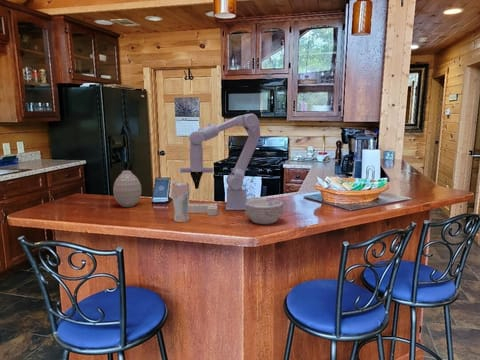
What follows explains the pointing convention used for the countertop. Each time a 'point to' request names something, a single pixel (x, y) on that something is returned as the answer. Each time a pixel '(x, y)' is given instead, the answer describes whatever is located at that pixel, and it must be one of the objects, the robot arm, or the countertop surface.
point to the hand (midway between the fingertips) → (196, 188)
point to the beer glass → (180, 201)
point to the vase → (127, 189)
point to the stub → (212, 210)
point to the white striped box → (199, 207)
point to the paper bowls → (264, 210)
